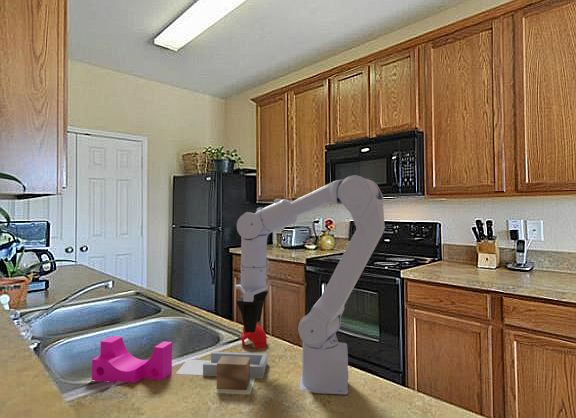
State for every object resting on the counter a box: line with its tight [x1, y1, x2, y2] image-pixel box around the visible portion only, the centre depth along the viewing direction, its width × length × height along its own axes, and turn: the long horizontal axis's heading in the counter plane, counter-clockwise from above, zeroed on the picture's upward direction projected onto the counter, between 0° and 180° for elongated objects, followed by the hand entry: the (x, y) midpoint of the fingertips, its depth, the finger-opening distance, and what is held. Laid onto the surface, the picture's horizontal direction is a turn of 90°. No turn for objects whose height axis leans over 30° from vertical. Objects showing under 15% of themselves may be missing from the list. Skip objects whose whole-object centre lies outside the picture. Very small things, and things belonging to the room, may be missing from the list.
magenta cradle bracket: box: [91, 335, 173, 384], centre depth 82 cm, size 15×6×8 cm, turn 77°
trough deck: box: [175, 351, 268, 379], centre depth 86 cm, size 19×8×3 cm, turn 86°
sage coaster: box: [214, 378, 256, 395], centre depth 78 cm, size 7×7×1 cm
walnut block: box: [216, 356, 250, 390], centre depth 78 cm, size 6×4×5 cm, turn 86°
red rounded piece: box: [240, 324, 268, 350], centre depth 102 cm, size 8×6×6 cm
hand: (252, 326), depth 87 cm, fingers open, 7 cm apart
